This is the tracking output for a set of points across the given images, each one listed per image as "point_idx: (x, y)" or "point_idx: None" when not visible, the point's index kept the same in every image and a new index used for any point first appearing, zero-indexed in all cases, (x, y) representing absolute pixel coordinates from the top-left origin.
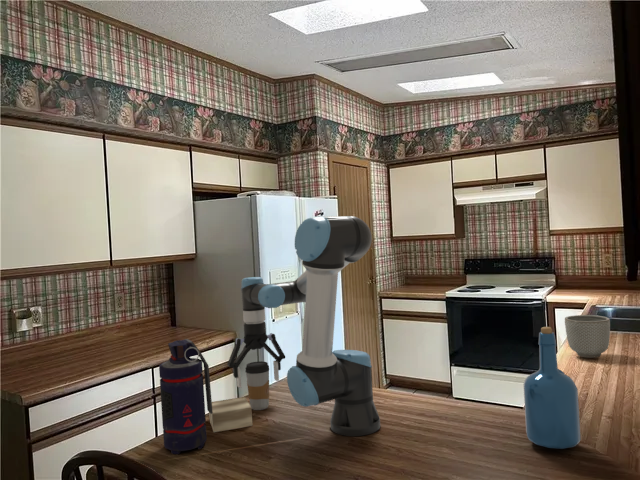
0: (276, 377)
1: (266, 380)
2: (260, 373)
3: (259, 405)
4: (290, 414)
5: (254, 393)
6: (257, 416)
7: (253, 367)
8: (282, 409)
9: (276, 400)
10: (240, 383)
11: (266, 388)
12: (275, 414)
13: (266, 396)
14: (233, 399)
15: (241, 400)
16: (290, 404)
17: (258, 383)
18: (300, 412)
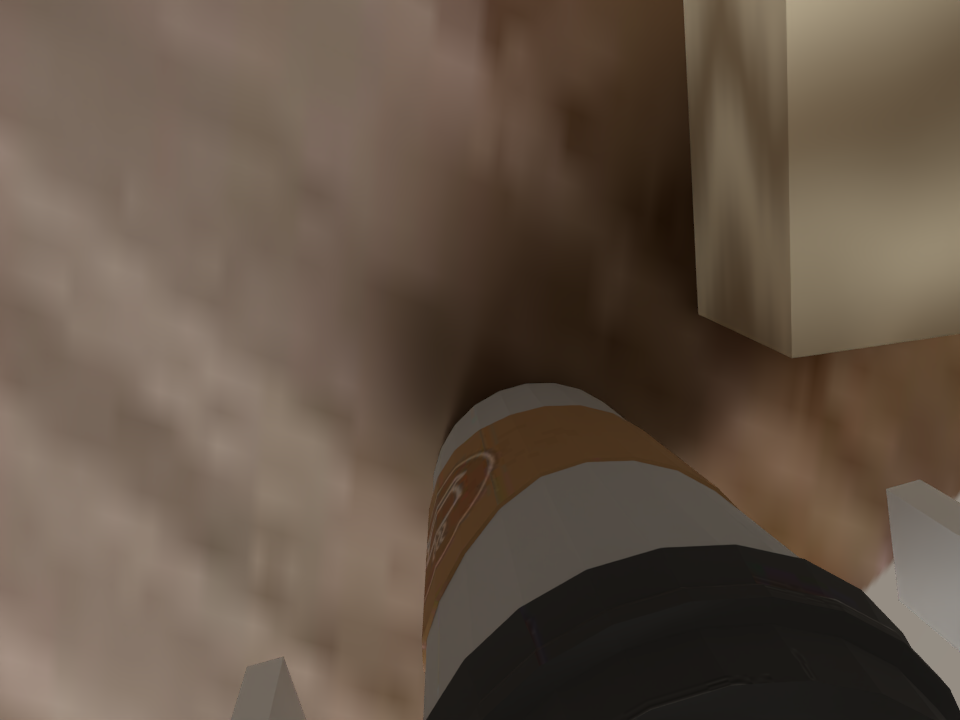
0: (280, 710)
1: (481, 549)
2: (641, 561)
3: (553, 391)
4: (201, 97)
5: (650, 439)
6: (588, 178)
7: (872, 681)
8: (286, 315)
9: (333, 637)
10: (941, 513)
11: (475, 489)
12: (381, 168)
13: (470, 449)
14: (952, 290)
15: (862, 196)
16: (180, 456)
17: (630, 478)
18: (69, 124)
